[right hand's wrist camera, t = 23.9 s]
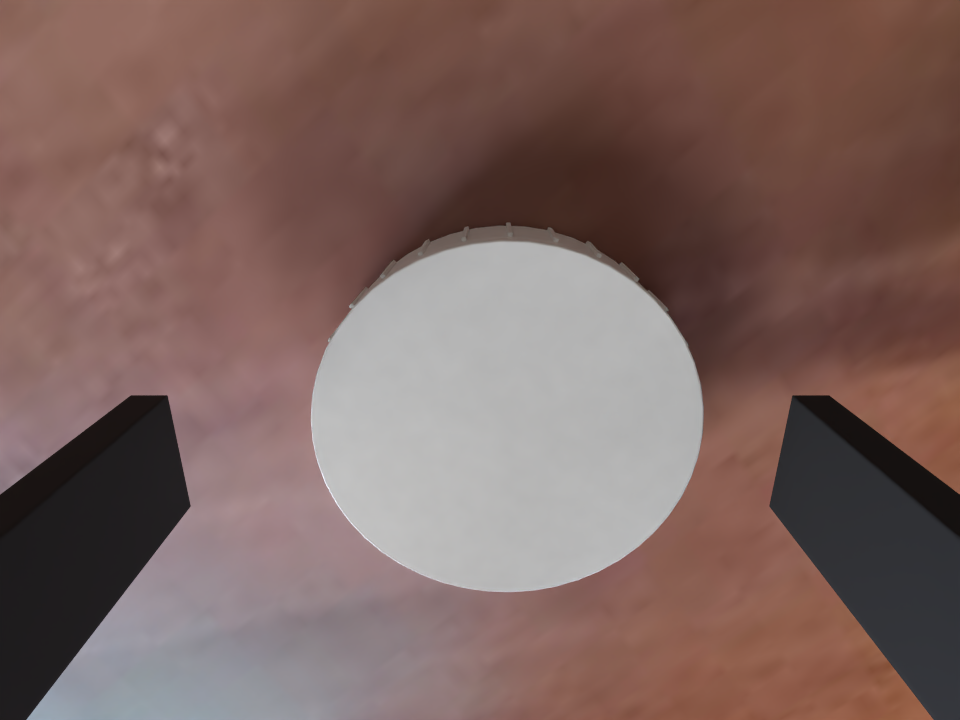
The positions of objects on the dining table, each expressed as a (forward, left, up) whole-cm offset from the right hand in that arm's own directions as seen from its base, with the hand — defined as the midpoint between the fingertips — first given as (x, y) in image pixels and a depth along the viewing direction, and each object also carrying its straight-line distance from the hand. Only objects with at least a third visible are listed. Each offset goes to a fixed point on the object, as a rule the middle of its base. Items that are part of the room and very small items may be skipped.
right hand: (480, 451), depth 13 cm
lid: (+1, 0, -2) cm, 2 cm away
